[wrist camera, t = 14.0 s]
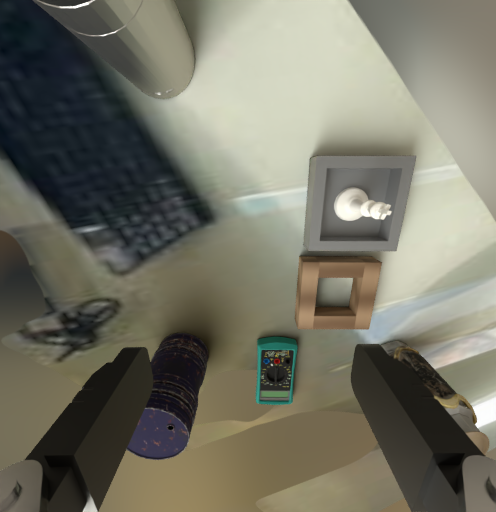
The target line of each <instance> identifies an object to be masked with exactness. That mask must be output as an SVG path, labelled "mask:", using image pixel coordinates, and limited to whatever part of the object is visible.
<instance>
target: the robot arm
mask: <svg viewBox="0 0 496 512" xmlns="http://www.w3.org/2000/svg"><path fill="white" fill-rule="evenodd" d="M33 1H34V2H36V3H37V4H38V5H39V6H40V7H42V8H43V9H44V10H45V11H46V12H48V13H49V14H50V15H51V16H52V17H54V18H55V19H56V20H57V21H59V22H60V23H61V24H62V25H63V26H65V27H66V28H67V29H68V30H69V31H70V32H72V33H73V34H74V35H75V36H76V37H78V38H79V39H80V40H81V41H82V42H84V43H85V44H86V45H87V46H88V47H90V48H91V49H92V50H93V51H94V52H96V53H97V54H98V55H99V56H100V57H102V58H103V59H104V60H105V61H106V62H108V63H109V64H110V65H111V66H112V67H114V68H115V69H116V70H117V71H118V72H120V73H121V74H122V75H123V76H124V77H126V78H127V79H128V80H129V81H130V82H131V83H133V84H134V85H135V86H136V87H137V88H139V89H140V90H141V91H142V92H144V93H145V94H147V95H149V96H151V97H154V98H158V99H168V98H172V97H174V96H177V95H178V94H180V93H181V92H182V91H183V90H184V89H185V88H186V87H187V86H188V84H189V82H190V80H191V78H192V75H193V71H194V64H195V58H194V50H193V46H192V42H191V40H190V37H189V35H188V33H187V30H186V28H185V25H184V23H183V20H182V18H181V15H180V13H179V11H178V8H177V6H176V3H175V1H174V0H33ZM351 384H352V388H353V391H354V394H355V396H356V398H357V400H358V402H359V404H360V406H361V408H362V410H363V412H364V415H365V417H366V419H367V421H368V423H369V425H370V427H371V429H372V431H373V433H374V435H375V437H376V439H377V441H378V443H379V445H380V448H381V450H382V452H383V454H384V456H385V458H386V460H387V462H388V464H389V466H390V468H391V470H392V472H393V474H394V476H395V479H396V481H397V483H398V485H399V487H400V489H401V491H402V493H403V495H404V497H405V499H406V501H407V503H408V505H409V507H410V509H411V512H496V460H494V459H491V458H488V457H486V456H485V455H484V454H483V453H482V452H481V451H480V450H479V448H478V447H477V446H476V445H475V444H474V443H473V441H472V440H471V439H470V438H469V437H468V435H467V434H466V433H465V432H464V431H463V429H462V428H461V427H460V426H459V425H458V424H457V422H456V421H455V420H454V419H453V418H452V416H451V415H450V414H449V413H448V412H447V411H446V409H445V408H444V407H443V406H442V405H441V403H440V402H439V401H438V400H437V399H435V398H434V395H433V394H432V393H431V392H430V390H429V389H428V388H427V387H425V386H424V383H423V382H422V381H421V380H420V378H419V377H418V376H417V375H416V374H415V373H414V371H413V370H412V369H410V368H409V367H408V366H406V365H405V364H403V363H402V362H401V361H399V360H398V359H391V357H390V356H389V355H388V354H387V352H386V351H385V350H384V348H383V347H382V346H381V345H379V344H358V345H356V347H355V353H354V359H353V365H352V372H351ZM152 389H153V374H152V369H151V364H150V360H149V355H148V351H147V349H146V348H145V347H127V348H123V349H122V350H121V351H120V353H119V354H118V355H117V357H116V358H115V359H114V361H113V362H112V363H106V364H105V365H104V366H102V367H101V368H100V369H99V370H97V371H96V372H95V373H94V374H93V375H92V376H91V377H90V378H89V380H88V381H87V382H86V383H85V385H84V386H83V387H82V390H81V391H79V392H78V393H77V395H76V396H75V397H74V399H73V400H72V403H70V404H69V405H68V406H67V407H66V409H65V410H64V411H63V413H62V414H61V415H60V416H59V417H58V419H57V420H56V421H55V423H54V424H53V425H52V426H51V428H50V429H49V430H48V431H47V433H46V434H45V435H44V436H43V438H42V439H41V440H40V441H39V443H38V444H37V445H36V446H35V448H34V449H33V450H32V452H31V453H30V454H29V455H28V456H27V458H26V459H25V460H24V461H20V462H17V463H15V464H12V465H11V466H8V467H6V468H5V469H3V470H1V471H0V512H98V511H99V509H100V507H101V504H102V502H103V500H104V498H105V495H106V493H107V491H108V489H109V487H110V484H111V482H112V480H113V478H114V476H115V473H116V471H117V469H118V467H119V464H120V462H121V460H122V458H123V456H124V453H125V451H126V449H127V447H128V445H129V442H130V440H131V438H132V436H133V433H134V431H135V429H136V427H137V425H138V422H139V420H140V418H141V416H142V413H143V411H144V409H145V407H146V405H147V402H148V400H149V398H150V396H151V393H152Z"/></svg>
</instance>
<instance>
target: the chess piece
mask: <svg viewBox="0 0 496 512" xmlns="http://www.w3.org/2000/svg"><path fill="white" fill-rule="evenodd" d="M390 207H391V205H388V204H385V203H383V202H377V203H376V202H375V201H373V200H368V196H367V194H366V193H365V192H364V191H363V190H361V189H359V188H355V187H351V188H347V189H345V190H343V191H342V192H340V193H339V194H338V196H337V197H336V199H335V203H334V210H335V213H336V215H337V216H338V217H339V218H340V219H342V220H345V221H353V220H357V219H359V218H360V217H362V216H365V217H370V216H371V217H372V218H374V219H382V220H384V219H385V217H386V215H390V214H391V212H392V211H389V209H390Z"/></svg>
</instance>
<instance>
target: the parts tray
mask: <svg viewBox="0 0 496 512" xmlns="http://www.w3.org/2000/svg"><path fill="white" fill-rule="evenodd" d="M415 161H416V156H315V157H313V158H310V166H309V178H308V191H307V204H306V217H305V229H304V242H303V245H304V246H305V247H306V249H307V250H308V251H397V246H398V241H399V236H400V232H401V227H402V222H403V218H404V213H405V208H406V203H407V199H408V194H409V189H410V185H411V180H412V175H413V170H414V166H415ZM351 187H355V188H359V189H361V190H363V191H364V192H365V193H366V194H367V196H368V200H373V201H375V202H376V203H377V202H383V203H385V204H388V205H391V207H390V209H389V211H392V212H391V214H390V215H386V217H385V219H384V220H382V219H374V218H372V217H371V216H370V217H365V216H362V217H360V218H359V219H357V220H353V221H345V220H342V219H340V218H339V217H338V216H337V215H336V213H335V210H334V203H335V199H336V197H337V196H338V194H339V193H340V192H342V191H343V190H345V189H347V188H351Z"/></svg>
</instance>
